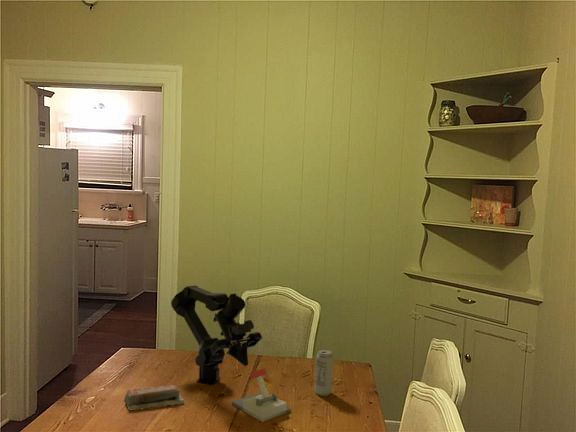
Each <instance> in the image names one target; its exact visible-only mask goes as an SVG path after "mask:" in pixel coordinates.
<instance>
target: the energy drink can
mask: <svg viewBox="0 0 576 432" xmlns="http://www.w3.org/2000/svg"><path fill="white" fill-rule="evenodd" d="M333 370H334V356H333V352H332V351H331V350H329V349H319V350H318V352H317V354H316V358H315V373H314V374H315V375H314V377H315V378H314V392H315V394H316V395H318V396H320V397H328V396H329V395H330V394H331V393H332V391H333V390H332V389H333V375H334V374H333V373H334V372H333Z"/></svg>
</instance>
